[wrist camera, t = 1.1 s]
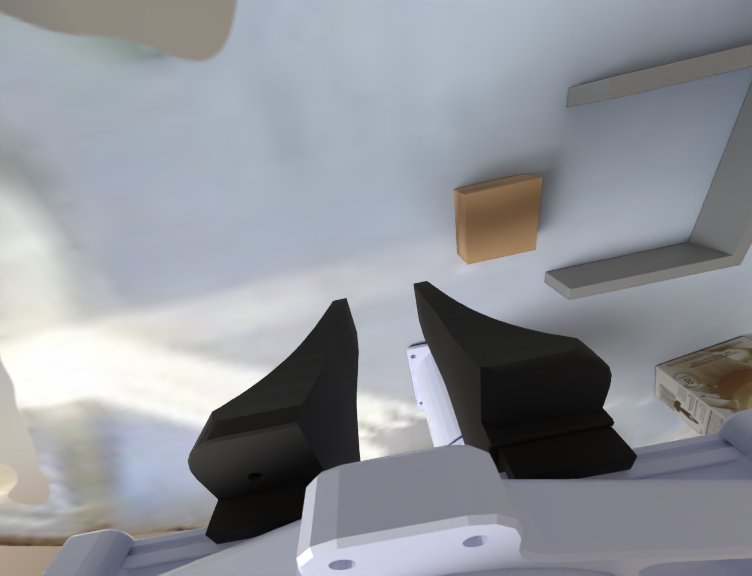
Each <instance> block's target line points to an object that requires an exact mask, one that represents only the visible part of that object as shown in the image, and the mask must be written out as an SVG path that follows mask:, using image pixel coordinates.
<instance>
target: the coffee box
mask: <svg viewBox="0 0 752 576" xmlns="http://www.w3.org/2000/svg"><path fill="white" fill-rule="evenodd" d="M655 397H656V398H657V399H659V400H660V401H661V402H662V403H663V404H665V405H666V406H667V407H668V408H669V409H670V410H672V411H673V412H674V413H675V414H676V415H677V416H679V417H680V418H681V419H682V420H683V421H684V422H685V423H687V424H688V425H689V426H690V427H691V428H692V429H694V430H695V431H696V432H697V433H698V434H699V435H700V436H704V435H709V434H715V433H719V428H720V426H721V424H722V423H723V422H724V420H726V419H727V418H728V417H729V416H731V415H733V414H734V413H737V412H740V411H743V410H748V409H752V340H750V339H749V338H747V337H740V338H737V339H734V340H731V341H728V342H725V343H722V344H719V345H716V346H713V347H710V348H707V349H704V350H701V351H698V352H695V353H693V354H690V355H687V356H684V357H681V358H678V359H675V360H672V361H669V362H666V363H663V364H661V365H658V366H656V381H655Z"/></svg>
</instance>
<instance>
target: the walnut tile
mask: <svg viewBox="0 0 752 576" xmlns="http://www.w3.org/2000/svg"><path fill="white" fill-rule="evenodd" d="M542 179H543V177H539V176H533V175H528V174H520V175H515V176H511V177H507V178H502V179H498V180H493V181H489V182H484V183H480V184H476V185H471V186H467V187H462V188H458V189H454V204H455V222H456V239H457V254H458V255H459V256H460V257H461V258H462V259H463V260H464V261H465V262H466V263H467V264H472V263H476V262H481V261H486V260H490V259H495V258H499V257H504V256H509V255H513V254H518V253H523V252H527V251H532V250H536V240H537V230H538V220H539V210H540V200H541V189H542Z"/></svg>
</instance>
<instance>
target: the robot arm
mask: <svg viewBox="0 0 752 576" xmlns="http://www.w3.org/2000/svg"><path fill="white" fill-rule="evenodd" d="M414 291H415V297H416V304H417V310H418V317H419V322H420V325H421V328H422V332H423V335H424V338H425V340H426V343H427V344H422V345H417V346H412V347H409V348H408V349H407V355H408V360H409V365H410V370H411V375H412V380H413V385H414V391H415V396H416V401H417V406H418V410H419V411H421V412H423V411H425V414H426V418H427V421H428V425H429V429H430V433H431V437H432V441H433V444H434V447H433V448H428V449H423V450H418V451H412V452H407V453H402V454H396V455H391V456H386V457H381V458H375V459H370V460H365V461H360V452H359V437H358V422H357V377H358V355H359V350H358V338H357V331H356V328H355V325H354V321H353V318H352V315H351V312H350V308H349V305H348V302H347V298H345V299H340V300H335V301H333V302H332V304H331V305H330V306H329V308H328V309H327V311H326V312H325V314H324V315H323V317H322V318H321V319H320V321H319V322H318V324H317V325H316V326H315V328H314V329H313V330H312V331H311V333H310V334H309V335H308V336H307V338H306V339H305V340H304V341H303V342H302V343H301V345H300V346H299V347H298V348H297V349H296V350H295V351H294V352H293V353H292V354H291V355H290V356H289V357H288V358H287V359H286V360H284V361H283V362H282V363H281V364H280V365H279V366H277V367H276V368H275V369H274V370H273V371H272V372H271V373H269V374H268V375H267V376H266V377H264V378H263V379H262V380H260V381H259V382H258V383H256V384H255V385H253V386H252V387H251V388H249V389H248V390H246V391H245V392H243V393H242V394H240V395H239V396H237V397H236V398H234V399H232V400H231V401H229V402H228V403H226V404H224V405H223V406H221V407H220V408H218V409H216V410H215V411H213V412H212V413H211V415H210V417H209V419H208V421H207V422H206V424H205V426H204V428H203V430H202V432H201V434H200V436H199V438H198V439H197V441H196V443H195V445H194V447H193V449H192V451H191V453H190V455H189V459H188V464H189V468H190V471H191V472H192V474H193V475H194V476H195V478H196V479H197V480H198V481H199V482H200V483H201V484H203V485H204V486H205V487H206V488H207V489H208V490H209V491H210V492H211V493H212V494H213V495H214V496H215V497H216V498H217V499H218V502H217V504H216V507H215V510H214V512H213V515H212V518H211V520H210V523H209V525H208V527H204V528H198V529H193V530H187V531H182V532H176V533H172V534H166V535H160V536H155V537H149V538H144V539H138V540H134V539H133V537H132V536H130V535H129V534H128V533H126V532H124V531H121V530H117V529H104V530H99V531H94V532H88V533H83V534H78V535H73V536H71V537H69V538H68V540H67V541H66V542H65V544H64V545H63V546H62V548H61V549H60V551H59V552H58V553H57V555H56V556H55V558H54V559H53V560H52V562H51V563H50V564H49V566H48V567H47V569H46V570H45V571H44V573H43V574H42V576H752V409H748V410H743V411H740V412H737V413H734V414H733V415H731V416H729V417H728V418H727V419H726V420H724V422H723V423H722V424H721V426H720V428H719V433H715V434H709V435H704V436H698V437H693V438H687V439H682V440H677V441H671V442H666V443H660V444H655V445H649V446H644V447H638V448H633V449H631V448H630V447H629V446H628V445H627V443H626V442H625V441H624V440H623V439H622V438H621V437H620V436H619V435H618V433H617V432H616V431H615V430H614V429H613V428H612V427H611V426H613V424H614V421H613V419H612V418H611V417H610V415H609V414H608V413H607V412H606V411H605V410H604V409H603V405H604V402H605V399H606V396H607V393H608V391H609V388H610V383H611V376H612V374H611V371H610V368H609V366H608V365H607V364H606V363H605V362H604V361H603V360H602V359H601V358H600V357H599V356H598V355H596V354H595V353H594V352H593V351H592V350H591V349H590V348H588V347H587V346H586V345H585V344H584V343H582V342H581V341H580V340H578V339H577V338H572V337H566V336H560V335H554V334H548V333H543V332H538V331H534V330H530V329H526V328H522V327H518V326H515V325H511V324H508V323H505V322H502V321H499V320H496V319H493V318H491V317H488V316H486V315H483V314H481V313H479V312H476V311H474V310H472V309H470V308H468V307H466V306H464V305H463V304H461V303H459V302H457V301H456V300H454V299H452V298H451V297H449V296H448V295H446V294H445V293H443V292H442V291H440V290H439V289H437V288H436V287H435V286H433V285H432V284H431V283H429V282H428V281H424V282H420V283H415V284H414ZM411 355H414V356H411Z"/></svg>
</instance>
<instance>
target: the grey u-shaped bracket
mask: <svg viewBox="0 0 752 576" xmlns="http://www.w3.org/2000/svg"><path fill="white" fill-rule="evenodd" d="M747 67H752V44H750V45H746V46H742V47H738V48H733V49H729V50H725V51H721V52H716V53H712V54H708V55H704V56H699V57H695V58H691V59H687V60H682V61H678V62H674V63H670V64H665V65H661V66H657V67H652V68H648V69H644V70H640V71H635V72H631V73H627V74H623V75H618V76H614V77H610V78H606V79H602V80H598V81H594V82H590V83H586V84H582V85H579V86H575V87H571V88H569V93H568V100H567V107H569V106H575V105H581V104H587V103H593V102H599V101H605V100H610V99H614V98H618V97H623V96H627V95H631V94H635V93H640V92H644V91H648V90H653V89H657V88H661V87H666V86H670V85H674V84H679V83H683V82H687V81H691V80H696V79H700V78H704V77H709V76H713V75H717V74H722V73H726V72H730V71H735V70H739V69H743V68H747ZM751 243H752V84H751V86H750V89H749V91H748V94H747V96H746V99H745V101H744V104H743V106H742V109H741V111H740V114H739V116H738V119H737V121H736V124H735V126H734V129H733V131H732V134H731V136H730V139H729V141H728V144H727V146H726V149H725V151H724V154H723V156H722V159H721V161H720V164H719V166H718V169H717V171H716V174H715V177H714V179H713V182H712V184H711V187H710V189H709V192H708V194H707V197H706V199H705V202H704V204H703V207H702V209H701V212H700V214H699V217H698V219H697V222H696V224H695V227H694V229H693V232H692V234H691V237H690V239H689V242H687V243H682V244H678V245H673V246H668V247H663V248H659V249H654V250H649V251H644V252H640V253H635V254H630V255H625V256H621V257H616V258H611V259H606V260H602V261H597V262H592V263H587V264H583V265H578V266H573V267H568V268H564V269H559V270H554V271H549V272H546V274H545V283H546V284H548V285H549V286H550V287H552V288H553V289H554V290H556V291H557V292H558V293H560V294H561V295H562V296H564V297H565V298H566V299H568V300H572V299H576V298H581V297H586V296H591V295H596V294H601V293H606V292H610V291H615V290H620V289H625V288H630V287H635V286H640V285H644V284H649V283H654V282H659V281H664V280H669V279H674V278H678V277H683V276H688V275H693V274H698V273H703V272H708V271H712V270H717V269H722V268H727V267H732V266H737V265H740V264H741V263H742V261H743V259H744V257H745V255H746V253H747V251H748V249H749V247H750V245H751Z"/></svg>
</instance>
